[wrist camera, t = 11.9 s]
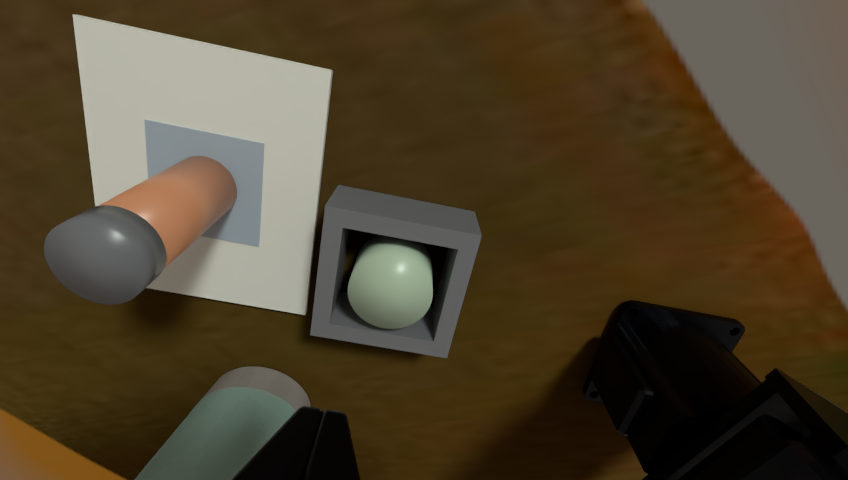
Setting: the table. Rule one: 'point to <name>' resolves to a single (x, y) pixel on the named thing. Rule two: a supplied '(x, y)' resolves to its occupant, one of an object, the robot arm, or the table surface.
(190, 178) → the marker
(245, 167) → the paper
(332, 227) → the button housing
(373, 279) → the button
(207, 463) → the coffee cup
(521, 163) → the table surface
